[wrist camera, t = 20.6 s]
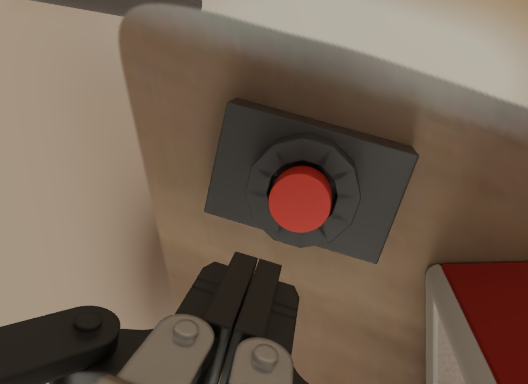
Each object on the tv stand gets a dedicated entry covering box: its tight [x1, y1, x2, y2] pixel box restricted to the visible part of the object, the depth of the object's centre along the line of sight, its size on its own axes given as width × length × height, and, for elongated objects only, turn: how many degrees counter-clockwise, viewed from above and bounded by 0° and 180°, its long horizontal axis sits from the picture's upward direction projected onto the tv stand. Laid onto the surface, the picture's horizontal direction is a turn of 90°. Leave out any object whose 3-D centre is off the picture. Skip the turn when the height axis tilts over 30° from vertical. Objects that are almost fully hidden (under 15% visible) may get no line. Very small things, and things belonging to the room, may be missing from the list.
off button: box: [269, 165, 332, 232], centre depth 22 cm, size 3×3×2 cm
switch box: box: [204, 98, 419, 264], centre depth 25 cm, size 11×7×4 cm, turn 76°
